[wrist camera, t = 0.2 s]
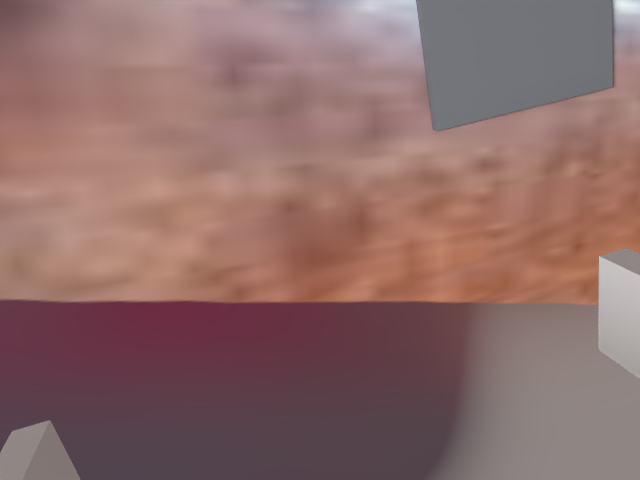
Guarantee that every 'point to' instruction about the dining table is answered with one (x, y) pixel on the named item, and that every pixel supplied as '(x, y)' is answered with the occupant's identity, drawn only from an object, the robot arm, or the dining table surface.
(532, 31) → the mat
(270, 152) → the dining table surface
